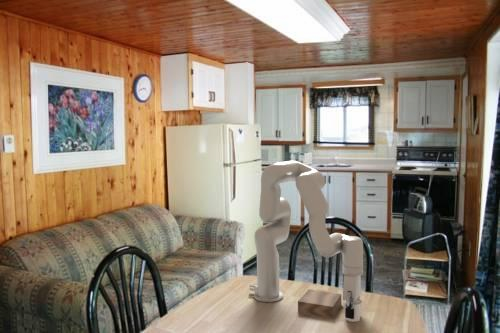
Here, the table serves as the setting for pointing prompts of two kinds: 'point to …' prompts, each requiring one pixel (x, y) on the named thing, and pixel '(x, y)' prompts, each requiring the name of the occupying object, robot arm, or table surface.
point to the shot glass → (356, 310)
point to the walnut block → (319, 303)
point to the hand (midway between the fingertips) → (352, 313)
